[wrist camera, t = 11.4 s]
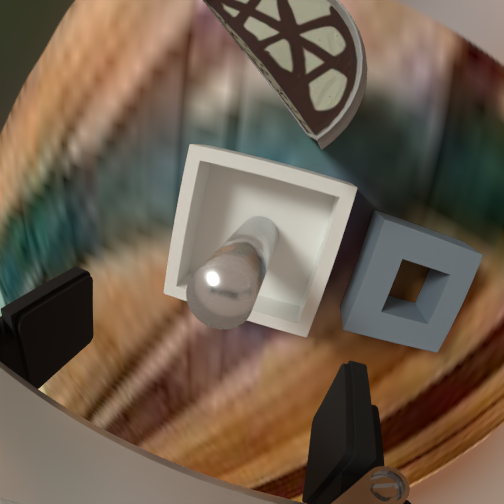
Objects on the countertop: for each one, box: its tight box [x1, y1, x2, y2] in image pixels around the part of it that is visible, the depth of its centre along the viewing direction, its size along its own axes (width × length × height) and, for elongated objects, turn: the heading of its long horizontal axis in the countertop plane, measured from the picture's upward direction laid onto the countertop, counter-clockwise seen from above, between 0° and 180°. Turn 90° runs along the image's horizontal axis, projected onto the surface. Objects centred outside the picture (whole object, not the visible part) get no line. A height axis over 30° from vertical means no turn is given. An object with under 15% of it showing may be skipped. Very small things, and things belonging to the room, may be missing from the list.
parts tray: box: [164, 144, 357, 337], centre depth 25 cm, size 12×12×4 cm
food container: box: [203, 0, 367, 149], centre depth 18 cm, size 12×6×10 cm, turn 35°
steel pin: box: [186, 216, 279, 329], centre depth 20 cm, size 3×3×12 cm
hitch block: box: [340, 210, 483, 353], centre depth 24 cm, size 9×9×4 cm
